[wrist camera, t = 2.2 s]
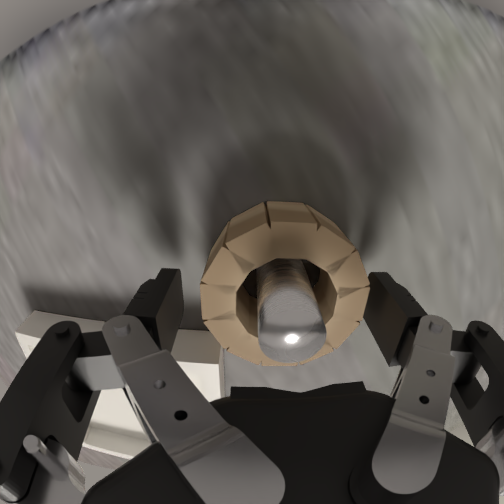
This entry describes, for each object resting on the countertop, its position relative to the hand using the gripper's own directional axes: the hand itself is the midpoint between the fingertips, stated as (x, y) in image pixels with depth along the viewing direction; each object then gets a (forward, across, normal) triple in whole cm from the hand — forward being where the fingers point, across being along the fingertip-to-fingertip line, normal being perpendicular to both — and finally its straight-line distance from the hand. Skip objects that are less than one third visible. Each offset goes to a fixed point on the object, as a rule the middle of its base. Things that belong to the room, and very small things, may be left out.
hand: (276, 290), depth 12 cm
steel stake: (+2, 0, 0) cm, 2 cm away
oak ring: (+2, 0, 0) cm, 2 cm away
